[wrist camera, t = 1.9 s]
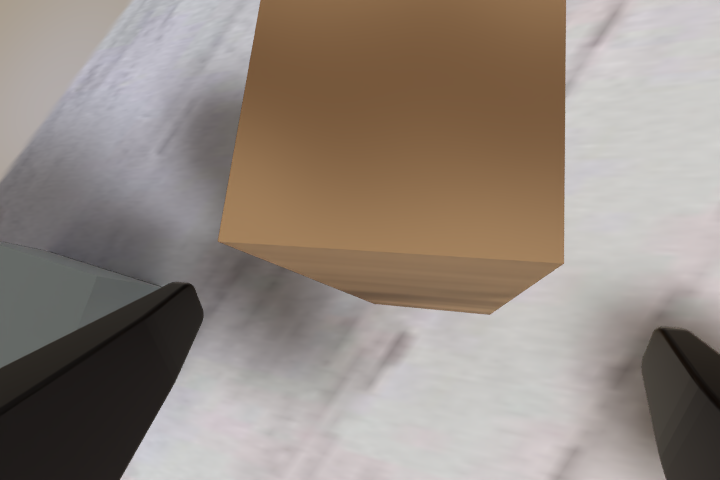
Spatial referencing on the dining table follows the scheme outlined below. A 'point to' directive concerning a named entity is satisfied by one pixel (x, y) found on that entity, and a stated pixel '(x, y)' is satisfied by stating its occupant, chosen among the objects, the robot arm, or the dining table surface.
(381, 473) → the dining table surface
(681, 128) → the dining table surface
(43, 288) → the base block
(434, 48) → the walnut block
